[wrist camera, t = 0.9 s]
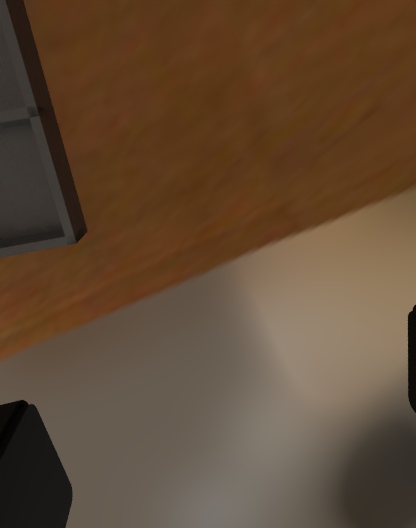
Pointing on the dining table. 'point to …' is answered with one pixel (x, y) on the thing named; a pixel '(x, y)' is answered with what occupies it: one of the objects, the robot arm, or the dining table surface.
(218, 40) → the dining table surface
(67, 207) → the divided tray
